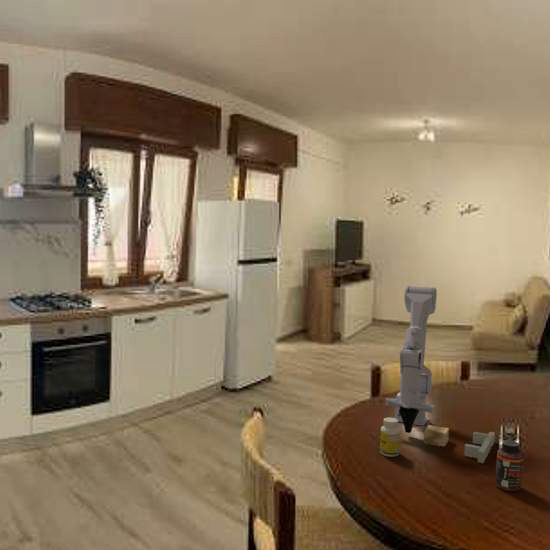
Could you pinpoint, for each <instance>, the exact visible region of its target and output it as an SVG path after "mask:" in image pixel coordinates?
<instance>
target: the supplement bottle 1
mask: <svg viewBox="0 0 550 550" xmlns="http://www.w3.org/2000/svg"><path fill="white" fill-rule="evenodd" d="M398 425H399V421H398V420H397V419H395V417H384V418H383V425H382V426H381V427H380V440H379V441H380V442H379V443H380V444H379V452H380V454H381V455H382V456H384V457H389V458H390V457H392V458H394V457H398V456H399V455H400V452H401V451H400V450H401V449H400V448H401V428H400V427H399V426H398Z"/></svg>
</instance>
